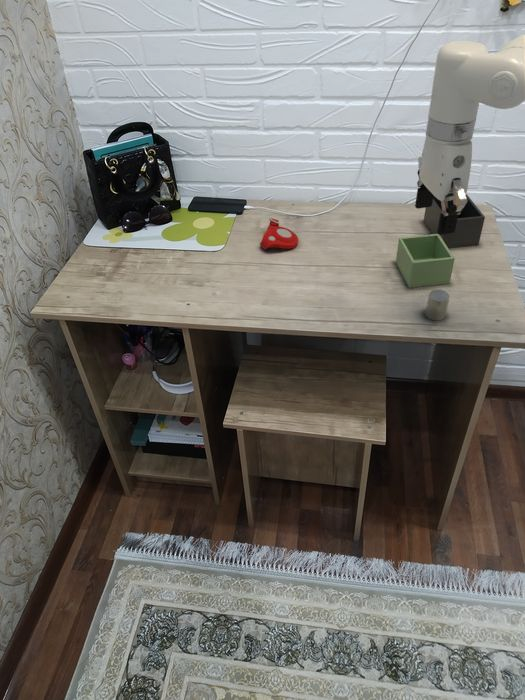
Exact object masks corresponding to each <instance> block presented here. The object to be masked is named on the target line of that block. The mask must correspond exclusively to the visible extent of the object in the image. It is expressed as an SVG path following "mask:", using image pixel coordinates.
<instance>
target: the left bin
mask: <svg viewBox="0 0 525 700" xmlns="http://www.w3.org/2000/svg"><path fill="white" fill-rule="evenodd" d="M396 249H397V252H396V257H395V263H396V265H397V267H398V269H399V271H400V273H401V275H402V277H403V279H404V282H405V283H406V285H407V288H409V289H411V288H420V287H429V286H437V285H438V286H439V285H447V284H448V285H449V284H450V283H451V278H452V274H453V269H454V264H455V261H456V260H455V256H454V255H453V253H452V252H451V250H450V248H448V247H447V246H446V244H445V243H444V241H443V240H442V238H441V237H440V235H438V234H431V233H430V234H424V235H413V236H405V237H398V243H397V248H396Z"/></svg>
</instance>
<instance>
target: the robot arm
mask: <svg viewBox="0 0 525 700" xmlns="http://www.w3.org/2000/svg"><path fill="white" fill-rule="evenodd" d="M436 55H437V56H436V60H435V66H434V67H435V68H434V75H433V81H432V88H431V95H430V102H429V109H428V114H427V121H426V127H425V128H426V130H425V138H424V144H423V148H422V151H421V152H422V153H421V156H419V157H418V158H417V162H418V170H417V173H416V174H417V175H418V176H417V177H418V180H417V183H416V185H417V191H416V196H415V197H416V198H415V204H414V208H416V209H417V210H419V209H424V208H426V207H431V206H432V202H433V196H435V197H436V198H437V199H438V200H440V201H441V205H442V211H443V213H441V214H440V217H439V223H438V228H437V233H438V235H442V234H449V233H454V232H455V228H456V224H457V219H458V214H460V213H461V211H463V209H464V206H465V205H466V203H467V197H466V194H467V193H468V187H469V181H470V176H471V175H470V174H471V170H472V169H471V168H472V158H473V141H472V139H473V137H474V133H475V132H474V131H475V127H476V123H477V121H476V120H477V117H478V112H479V106H480V104H482V105H485V106H488V107H491V108H494V109H498V110H499V109H500V110H508V109H514V108H515V107H518V106H520V105H522V103H524V102H525V33H524V34H522V35H520V36H517V37H516V38H513V39H511V40H510V41H509V42H508V43H506V44H505V45H503V46H502V48H500V50H499V51H498V52H497V51H496V52H495V53H489V49H488V48H487V46H486V45H484V44H483V43H480V42H479V41H473V40H454V41H450V42H447V43H444V44H443V45H442V46H441V47H440V48H439V50H438V52H437V54H436ZM452 192H453V196H447V197H446V196H445V195H447V194H448V193H452ZM451 200H453V203H454V205H452V206H450V207H449V208H448V204H447V201H451Z"/></svg>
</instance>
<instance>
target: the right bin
mask: <svg viewBox="0 0 525 700" xmlns="http://www.w3.org/2000/svg"><path fill="white" fill-rule="evenodd" d="M445 196H446V197H447V196H453V192H452V193H448V194H447V195H445ZM466 197H467V203H466V205H465V206H464V209H463V211H461V213H460V214H458V219H457V224H456V228H455V232H454V233H449V234H442V235H440V237H441V238H442V240H443V241H444V243H445V244H446V246H447V247H448V249H454V248H455V249H456V248H465V247H474V246H475V247H476V246H480V245H479V244H480V240H481V236H482V233H483V227H484V225H485V219H486V216H485V215H484V214H483V212H482V211H481V209H479V207H478V206H477V205H476V204H475V202H474V201H473V200H472V199H471V198H470V196H469V195H468V194H467V193H466ZM447 204H448V208H449V207H450V206H452V205H454V203H453V200H451V201H447ZM441 213H443V211H442V205H441V201H440V200H438V199H437V198H436V197H435V196H433V202H432V206H431V207H425V209H424V215H423V224H424V225H425V226H426V228H427V230H428V231H429V233H430V235H431V234H438V233H437V228H438V223H439V217H440V214H441Z"/></svg>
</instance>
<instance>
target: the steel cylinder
mask: <svg viewBox="0 0 525 700" xmlns="http://www.w3.org/2000/svg"><path fill="white" fill-rule="evenodd" d="M427 298H428V299H427V304H426V309H425V316H426V317H427V318H428V319H429V320H431V321H436V322H439V321H443V320H444V319H445V318H446V316H447V311H448V305H449V301H450V294H449V293H448V292H447V291H445V290H444V289H433V290H431V291H429V294H428V297H427Z"/></svg>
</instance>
